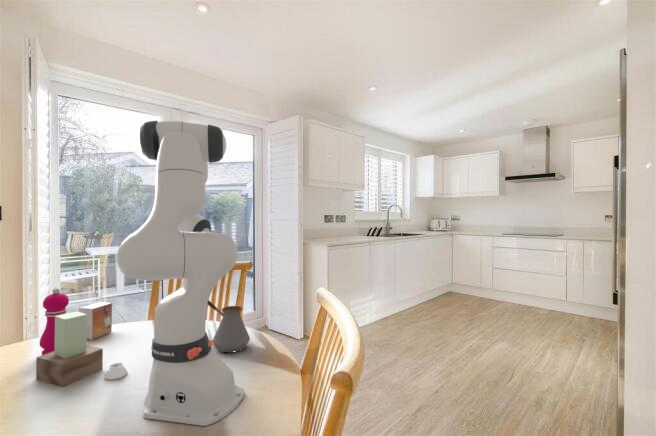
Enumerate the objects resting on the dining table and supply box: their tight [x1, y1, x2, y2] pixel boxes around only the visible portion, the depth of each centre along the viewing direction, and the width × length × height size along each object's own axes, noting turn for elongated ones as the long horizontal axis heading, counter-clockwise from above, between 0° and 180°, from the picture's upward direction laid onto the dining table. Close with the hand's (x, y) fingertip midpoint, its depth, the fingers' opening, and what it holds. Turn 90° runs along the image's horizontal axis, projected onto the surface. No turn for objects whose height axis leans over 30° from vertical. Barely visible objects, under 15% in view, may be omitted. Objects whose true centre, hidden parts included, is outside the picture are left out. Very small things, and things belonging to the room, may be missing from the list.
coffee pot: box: [207, 300, 251, 353], centre depth 108 cm, size 21×12×15 cm, turn 60°
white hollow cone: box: [104, 362, 128, 381], centre depth 87 cm, size 5×3×5 cm
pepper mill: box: [39, 287, 70, 355], centre depth 98 cm, size 7×7×20 cm
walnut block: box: [35, 344, 104, 388], centre depth 87 cm, size 10×10×6 cm
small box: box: [78, 301, 113, 340], centre depth 114 cm, size 8×6×10 cm
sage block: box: [54, 310, 88, 359], centre depth 87 cm, size 5×5×10 cm
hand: (132, 254), depth 101 cm, fingers open, 8 cm apart
